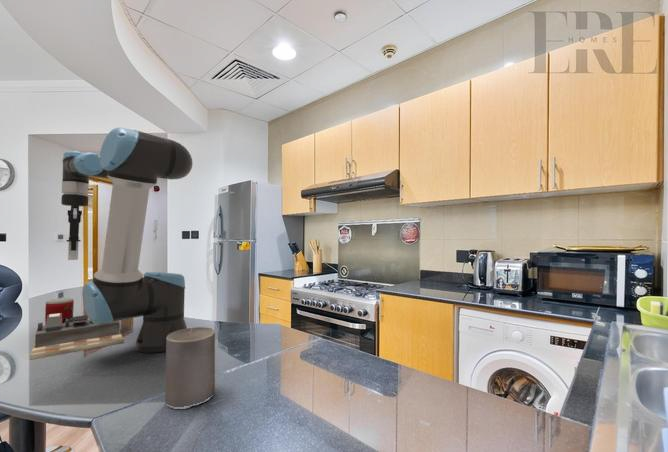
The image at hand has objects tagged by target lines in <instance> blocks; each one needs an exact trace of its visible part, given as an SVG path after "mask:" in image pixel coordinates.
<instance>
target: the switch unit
mask: <svg viewBox="0 0 668 452" xmlns="http://www.w3.org/2000/svg"><path fill="white" fill-rule="evenodd" d="M120 326H121V325H120V321H114V322H112V323H110V322H108V323H101V324H95V323H93V322H91V321H90V320H89V319H87V320H84V321H76V322H70V323H69V319H67V320H65V323H63V324H61V330H54V331H47V332H46V326H45V325H43V322H38V324H37V328H36V333H35V335H34V337H35V339H34V342H33V346H32V350H31V352H30V357H29V358H30V360H34V359H35V358H36V359H40V358H45V357H46V356H47V357H51V356H52V357H53V356H58V355H62V354H69V353H73V352H79V351H80V352H81V351H84V350H85V351H86V350H89V349H95V348H96V349H97V348H102V347H106V346H107V347H108V346H112V345H118V344H122V343H123V344H124V342H125V338H124V336H123V335H122V333H121V331H120ZM36 359H35V360H36Z"/></svg>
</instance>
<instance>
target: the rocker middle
mask: <svg viewBox="0 0 668 452" xmlns="http://www.w3.org/2000/svg"><path fill="white" fill-rule="evenodd" d="M85 320H89V318H88V316H87V314H86V315H78V316H77V315H76V316H73V322H78V321H85Z"/></svg>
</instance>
